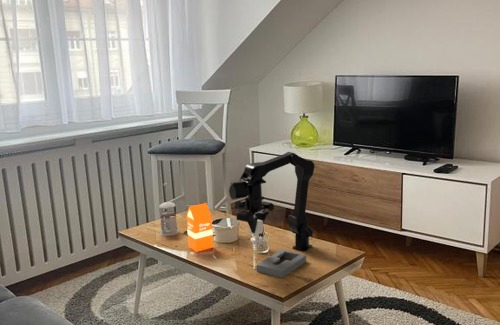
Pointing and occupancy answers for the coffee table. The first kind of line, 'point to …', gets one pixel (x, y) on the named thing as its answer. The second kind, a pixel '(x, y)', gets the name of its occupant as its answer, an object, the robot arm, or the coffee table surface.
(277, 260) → the keyhole board
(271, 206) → the robot arm
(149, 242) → the coffee table surface
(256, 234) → the keyhole peg
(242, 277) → the coffee table surface
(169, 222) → the french press
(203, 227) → the orange juice
